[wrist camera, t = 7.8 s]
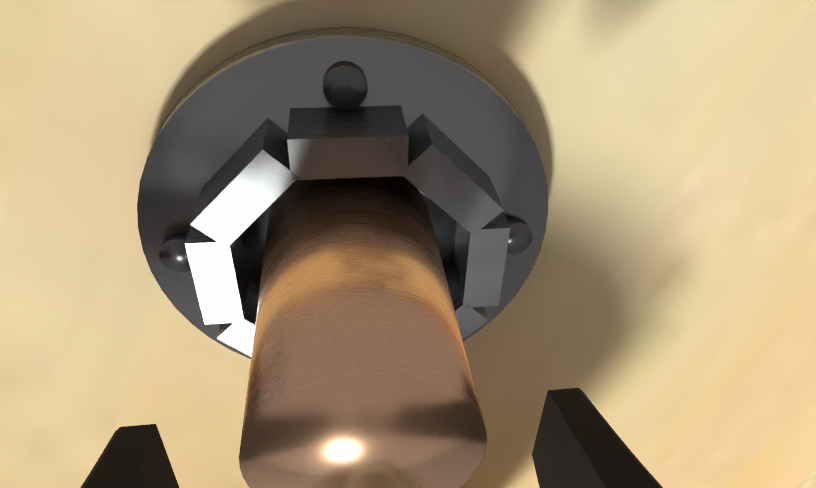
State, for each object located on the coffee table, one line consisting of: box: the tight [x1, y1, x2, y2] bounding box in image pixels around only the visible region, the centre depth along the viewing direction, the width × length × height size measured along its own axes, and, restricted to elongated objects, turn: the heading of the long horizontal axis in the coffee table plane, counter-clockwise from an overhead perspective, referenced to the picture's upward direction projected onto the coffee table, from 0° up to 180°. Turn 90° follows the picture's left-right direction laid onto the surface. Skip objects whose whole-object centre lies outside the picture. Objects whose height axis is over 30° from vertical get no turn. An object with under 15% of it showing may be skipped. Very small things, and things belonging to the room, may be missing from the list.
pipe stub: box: [239, 176, 487, 488], centre depth 14 cm, size 4×4×7 cm
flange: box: [137, 27, 548, 359], centre depth 16 cm, size 11×11×2 cm
